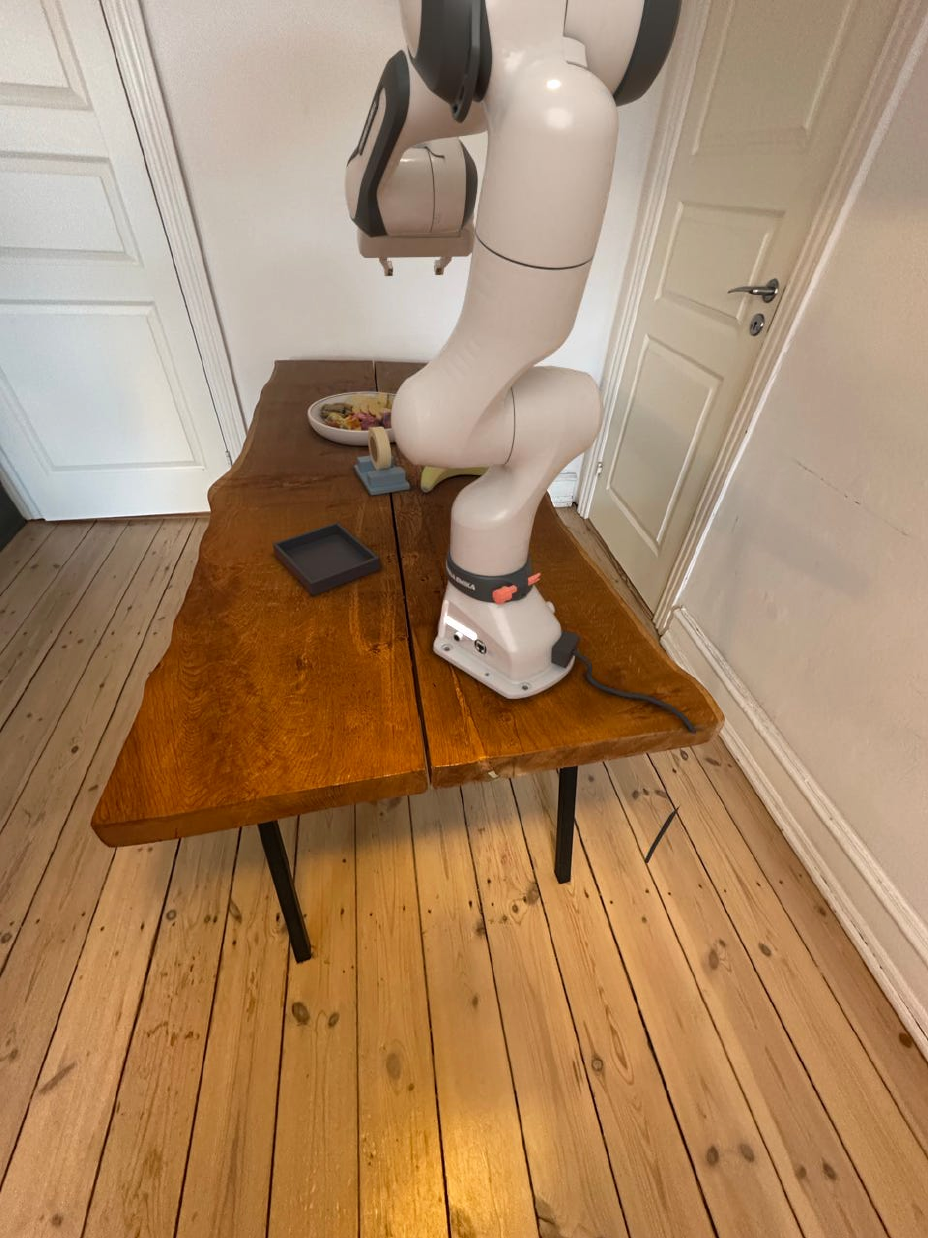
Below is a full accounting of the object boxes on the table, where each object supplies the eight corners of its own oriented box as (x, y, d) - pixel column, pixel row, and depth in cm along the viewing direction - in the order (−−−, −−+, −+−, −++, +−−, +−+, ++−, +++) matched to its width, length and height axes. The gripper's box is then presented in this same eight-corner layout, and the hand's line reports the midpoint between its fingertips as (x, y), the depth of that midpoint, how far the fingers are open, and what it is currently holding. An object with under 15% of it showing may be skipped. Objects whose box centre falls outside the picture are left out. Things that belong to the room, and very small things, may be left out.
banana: (424, 440, 126) (509, 452, 128) (422, 459, 130) (504, 470, 132) (421, 480, 118) (512, 492, 120) (419, 499, 122) (506, 510, 125)
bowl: (289, 423, 149) (284, 394, 144) (380, 401, 165) (379, 374, 160) (350, 461, 132) (346, 429, 127) (444, 432, 148) (445, 403, 143)
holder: (410, 489, 122) (409, 474, 120) (371, 495, 119) (369, 480, 117) (390, 463, 132) (390, 449, 130) (354, 469, 129) (352, 454, 127)
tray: (380, 569, 98) (379, 557, 97) (313, 595, 92) (311, 583, 90) (339, 533, 107) (337, 521, 106) (274, 554, 101) (272, 543, 99)
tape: (392, 475, 121) (390, 435, 116) (380, 476, 120) (378, 436, 115) (380, 458, 128) (378, 420, 122) (369, 460, 127) (366, 421, 121)
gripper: (357, 214, 85) (359, 288, 98) (483, 214, 89) (469, 285, 103) (351, 182, 86) (354, 259, 100) (476, 184, 91) (462, 258, 104)
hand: (413, 272), depth 101 cm, fingers open, 8 cm apart
